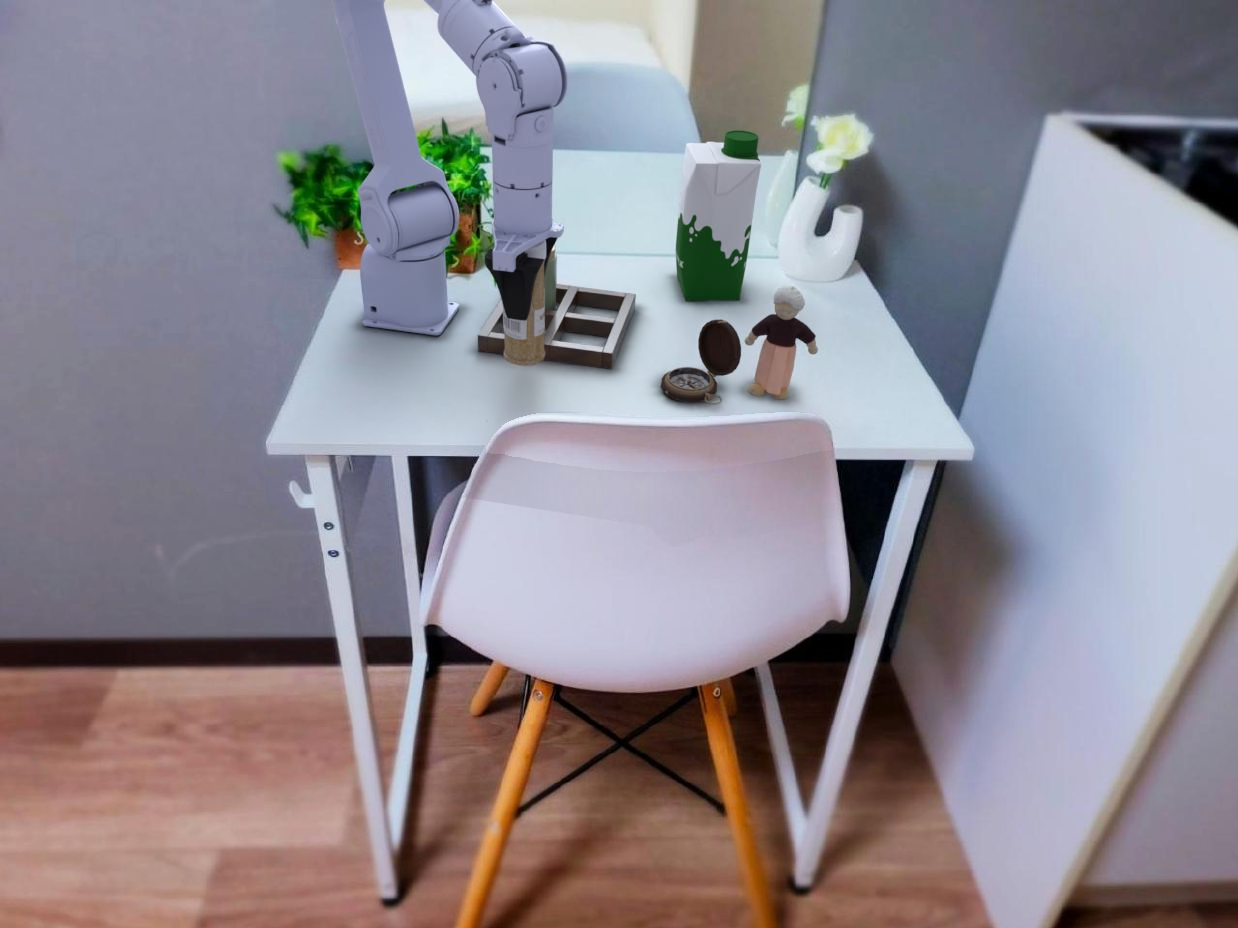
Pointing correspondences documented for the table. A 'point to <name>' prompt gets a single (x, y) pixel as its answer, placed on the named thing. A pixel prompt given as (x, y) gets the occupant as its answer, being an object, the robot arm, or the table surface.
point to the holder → (572, 326)
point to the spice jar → (551, 282)
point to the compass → (706, 364)
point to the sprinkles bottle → (528, 322)
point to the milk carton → (716, 216)
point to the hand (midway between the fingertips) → (523, 307)
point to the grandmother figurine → (780, 343)
